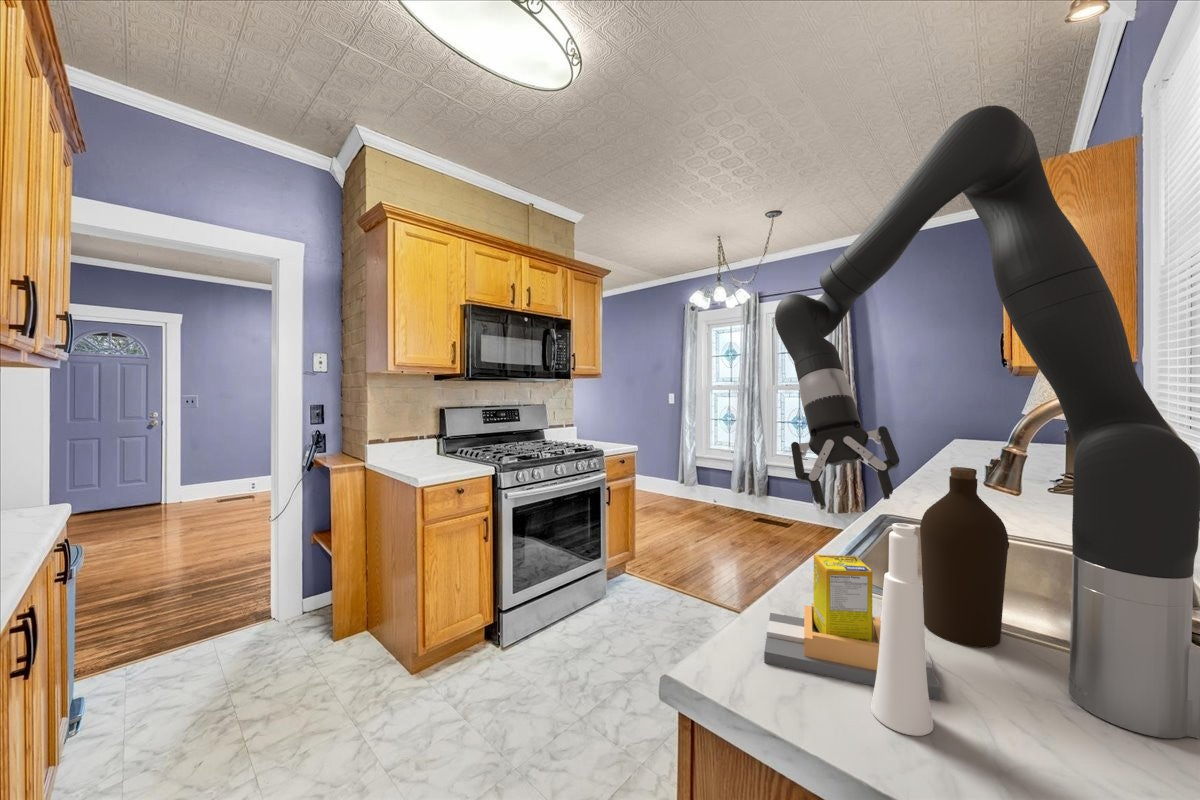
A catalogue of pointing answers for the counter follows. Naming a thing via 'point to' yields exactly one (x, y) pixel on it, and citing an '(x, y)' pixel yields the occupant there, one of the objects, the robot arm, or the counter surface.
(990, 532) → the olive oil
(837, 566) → the supplement box
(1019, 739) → the counter surface
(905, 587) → the cosmetic bottle
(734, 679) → the counter surface
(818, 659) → the rail mount
